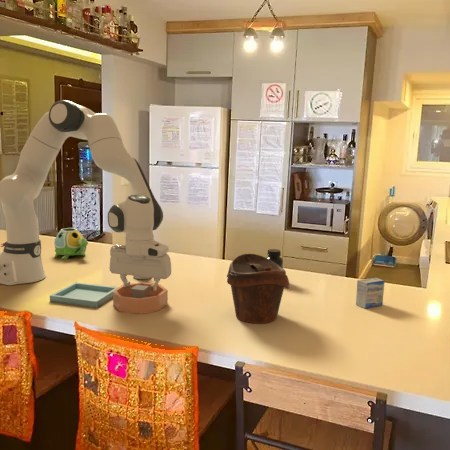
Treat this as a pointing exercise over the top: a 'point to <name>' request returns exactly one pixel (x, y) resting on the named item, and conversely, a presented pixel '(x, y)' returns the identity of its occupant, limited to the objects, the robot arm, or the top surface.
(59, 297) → the parts tray
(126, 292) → the terracotta bowl
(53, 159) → the robot arm
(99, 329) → the top surface
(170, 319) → the top surface
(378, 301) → the medicine box
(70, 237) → the turtle holder
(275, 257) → the supplement bottle
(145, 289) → the grey square block
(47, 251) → the top surface
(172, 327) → the top surface
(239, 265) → the brown lidded bucket
